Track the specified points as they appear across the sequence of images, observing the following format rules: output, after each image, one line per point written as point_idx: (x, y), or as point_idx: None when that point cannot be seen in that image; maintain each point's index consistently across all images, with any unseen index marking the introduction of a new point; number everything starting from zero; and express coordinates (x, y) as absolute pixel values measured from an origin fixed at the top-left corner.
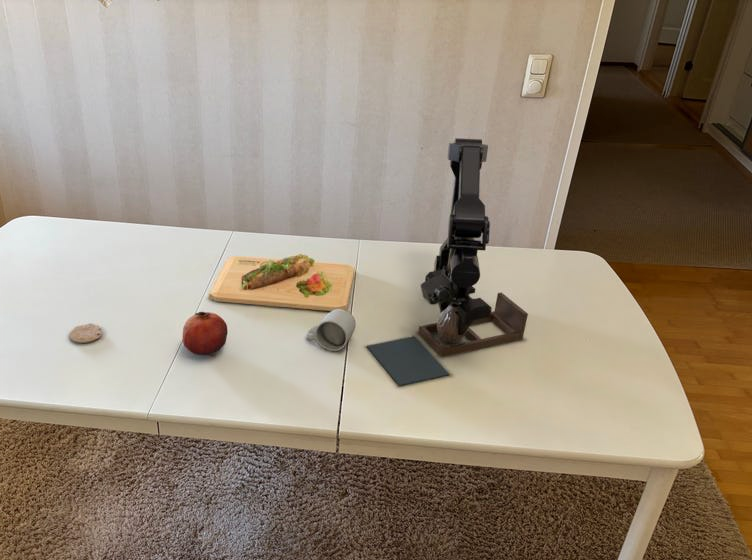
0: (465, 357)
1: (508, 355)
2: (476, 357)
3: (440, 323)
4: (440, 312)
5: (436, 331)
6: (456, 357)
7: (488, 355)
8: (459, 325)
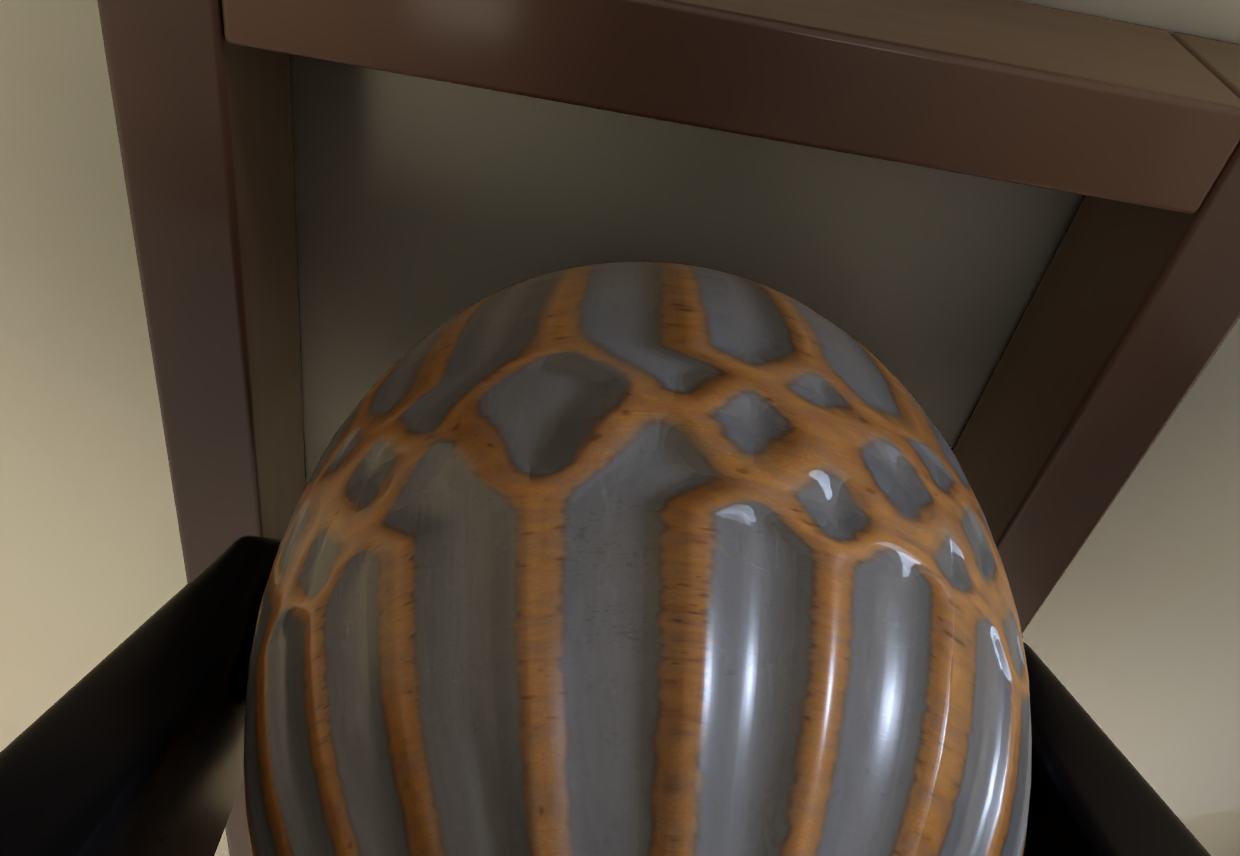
0: (61, 272)
1: (8, 698)
2: (28, 407)
3: (702, 493)
4: (1129, 763)
5: (1000, 373)
6: (94, 137)
7: (52, 552)
8: (35, 786)
